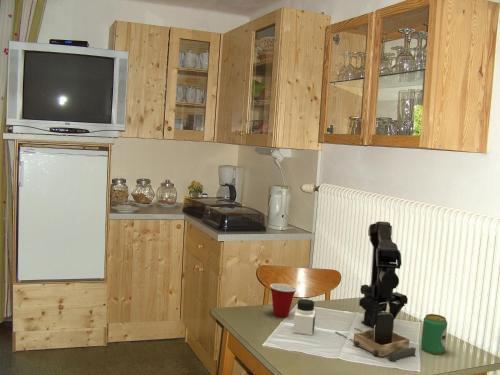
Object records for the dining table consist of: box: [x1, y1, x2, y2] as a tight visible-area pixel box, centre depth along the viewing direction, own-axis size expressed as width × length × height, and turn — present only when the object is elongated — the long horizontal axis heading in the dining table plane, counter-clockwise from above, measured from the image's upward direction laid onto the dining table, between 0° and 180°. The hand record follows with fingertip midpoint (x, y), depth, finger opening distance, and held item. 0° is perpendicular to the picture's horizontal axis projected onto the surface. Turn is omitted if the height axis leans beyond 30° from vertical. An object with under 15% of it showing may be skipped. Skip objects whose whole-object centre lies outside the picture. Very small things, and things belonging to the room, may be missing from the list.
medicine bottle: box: [293, 298, 316, 336], centre depth 206 cm, size 7×7×12 cm
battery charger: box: [372, 311, 395, 345], centre depth 194 cm, size 7×4×11 cm, turn 103°
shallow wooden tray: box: [353, 328, 411, 357], centre depth 194 cm, size 16×13×4 cm
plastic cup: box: [269, 283, 298, 318], centre depth 222 cm, size 11×11×12 cm
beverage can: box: [420, 313, 448, 355], centre depth 194 cm, size 8×8×12 cm
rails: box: [334, 327, 417, 363], centre depth 197 cm, size 12×29×2 cm, turn 34°
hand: (381, 324), depth 194 cm, fingers open, 9 cm apart
